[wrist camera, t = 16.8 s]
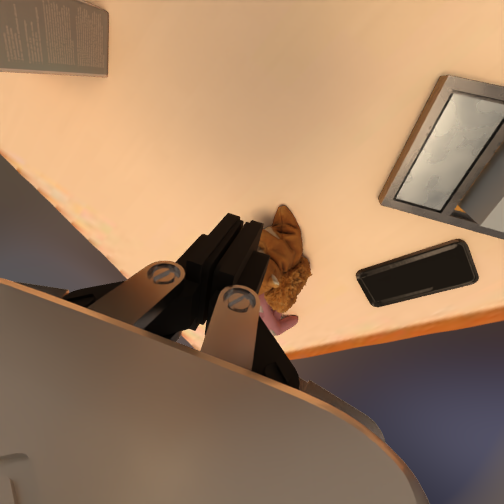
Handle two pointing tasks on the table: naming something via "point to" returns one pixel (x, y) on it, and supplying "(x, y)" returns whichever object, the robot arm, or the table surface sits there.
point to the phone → (419, 274)
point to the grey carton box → (53, 37)
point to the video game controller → (275, 318)
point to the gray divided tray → (448, 152)
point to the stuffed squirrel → (283, 261)
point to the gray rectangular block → (487, 194)
